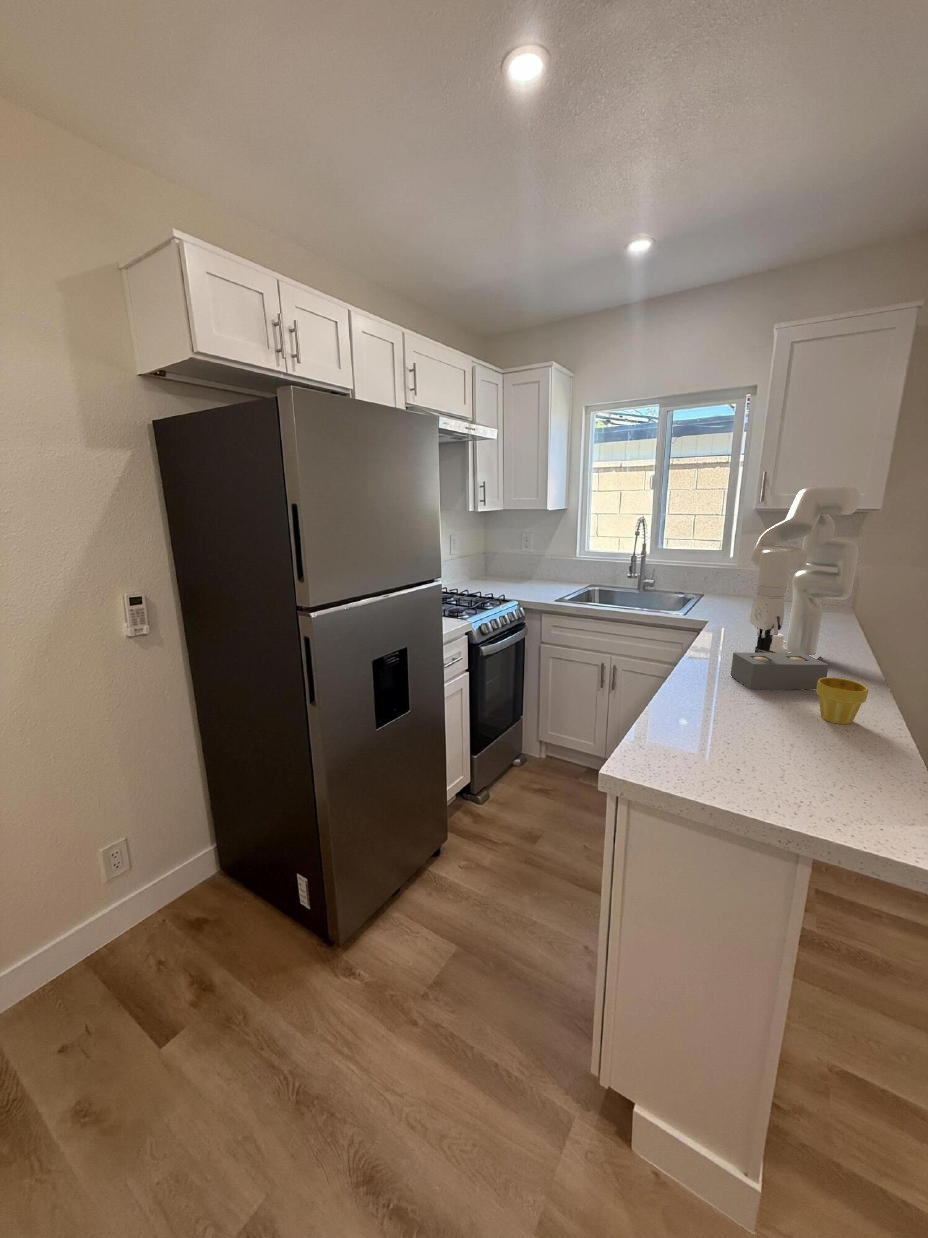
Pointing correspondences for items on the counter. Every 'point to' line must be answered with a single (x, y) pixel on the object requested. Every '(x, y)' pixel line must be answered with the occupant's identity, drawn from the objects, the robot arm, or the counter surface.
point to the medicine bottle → (775, 645)
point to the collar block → (777, 670)
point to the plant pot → (840, 699)
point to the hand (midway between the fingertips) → (763, 649)
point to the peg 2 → (797, 659)
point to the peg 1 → (760, 659)
